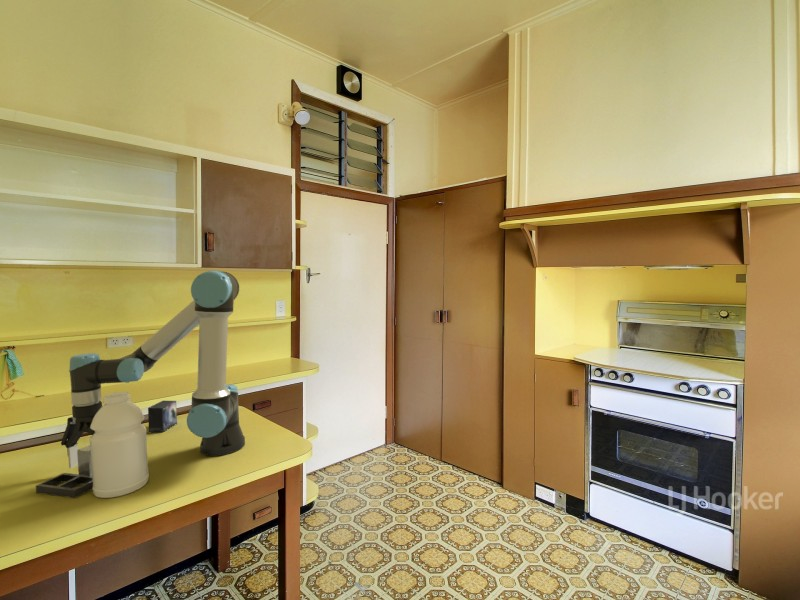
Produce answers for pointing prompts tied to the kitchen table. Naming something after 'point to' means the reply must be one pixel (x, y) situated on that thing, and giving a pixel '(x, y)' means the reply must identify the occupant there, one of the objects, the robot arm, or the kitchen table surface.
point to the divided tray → (66, 485)
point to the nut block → (84, 461)
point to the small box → (162, 416)
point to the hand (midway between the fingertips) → (91, 468)
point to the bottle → (118, 447)
